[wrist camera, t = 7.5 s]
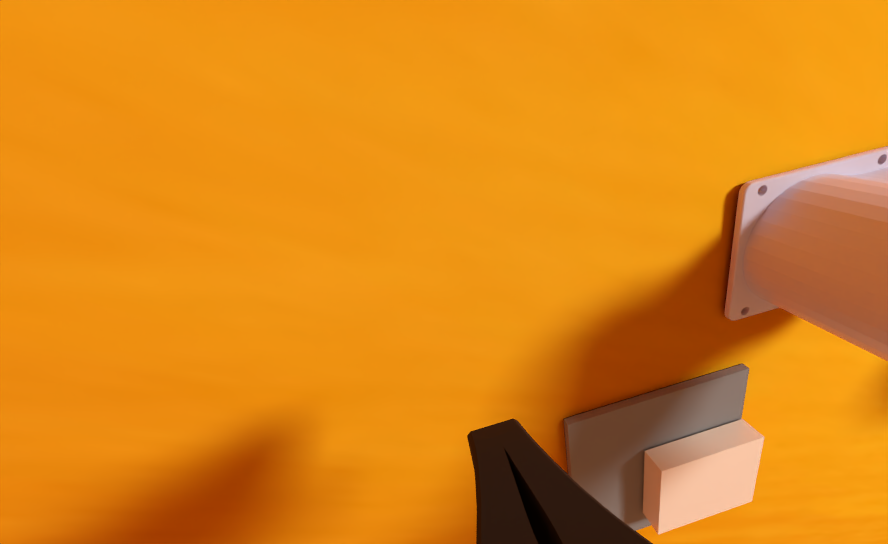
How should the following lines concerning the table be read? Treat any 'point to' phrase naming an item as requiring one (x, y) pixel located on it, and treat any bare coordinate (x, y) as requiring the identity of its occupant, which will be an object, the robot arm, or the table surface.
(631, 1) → the table surface
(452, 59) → the table surface
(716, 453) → the block
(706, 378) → the mat
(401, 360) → the table surface
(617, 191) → the table surface
